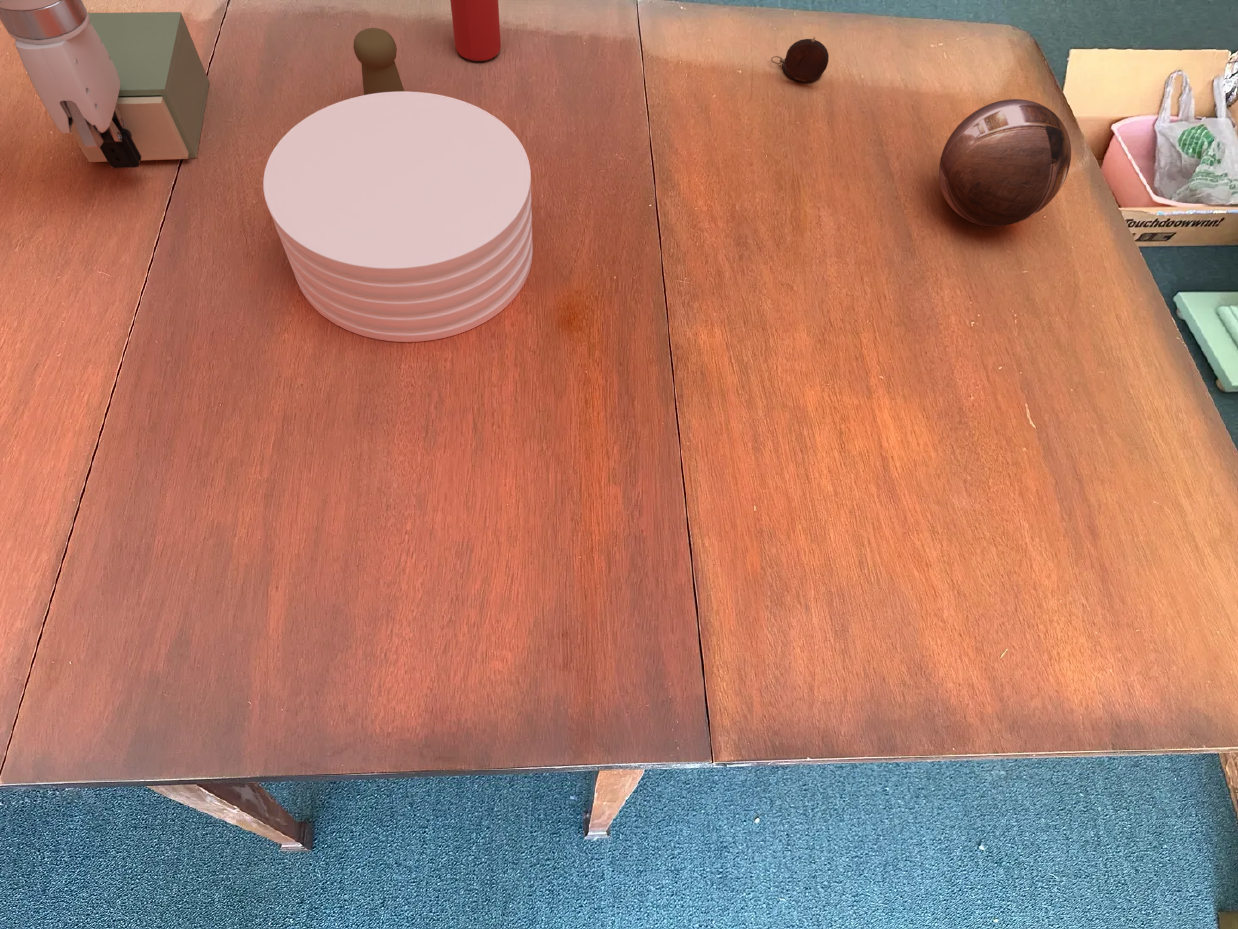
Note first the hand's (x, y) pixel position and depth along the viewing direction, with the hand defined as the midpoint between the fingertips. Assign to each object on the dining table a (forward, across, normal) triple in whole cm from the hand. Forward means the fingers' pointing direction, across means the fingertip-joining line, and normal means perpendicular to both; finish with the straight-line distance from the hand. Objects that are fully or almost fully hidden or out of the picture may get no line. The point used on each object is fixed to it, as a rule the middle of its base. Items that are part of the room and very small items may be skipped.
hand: (127, 162), depth 93 cm
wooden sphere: (+3, +11, +107) cm, 108 cm away
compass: (+3, -20, +90) cm, 92 cm away
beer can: (+3, -27, +43) cm, 50 cm away
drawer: (+2, -10, 0) cm, 10 cm away
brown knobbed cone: (+3, -12, +30) cm, 32 cm away
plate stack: (+3, +13, +33) cm, 36 cm away
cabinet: (+3, -12, 0) cm, 13 cm away
